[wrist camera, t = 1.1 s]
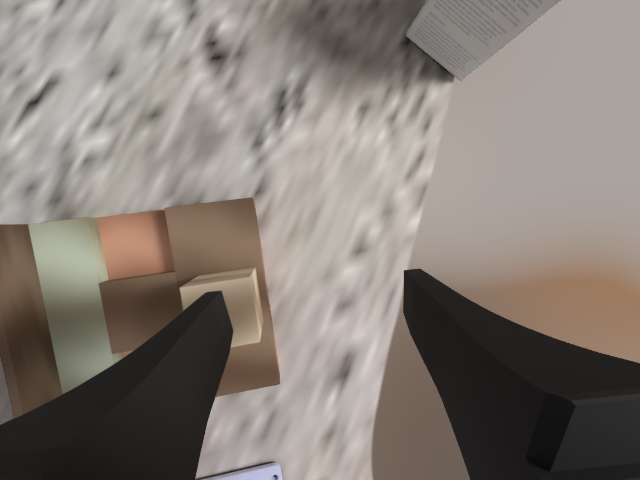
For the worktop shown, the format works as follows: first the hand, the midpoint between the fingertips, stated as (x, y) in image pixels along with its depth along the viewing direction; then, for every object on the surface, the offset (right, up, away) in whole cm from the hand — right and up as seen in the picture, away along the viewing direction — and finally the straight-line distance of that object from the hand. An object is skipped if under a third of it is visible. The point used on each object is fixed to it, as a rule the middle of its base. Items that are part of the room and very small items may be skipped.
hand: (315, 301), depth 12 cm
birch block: (-6, -2, +10) cm, 12 cm away
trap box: (-11, -2, +11) cm, 16 cm away
